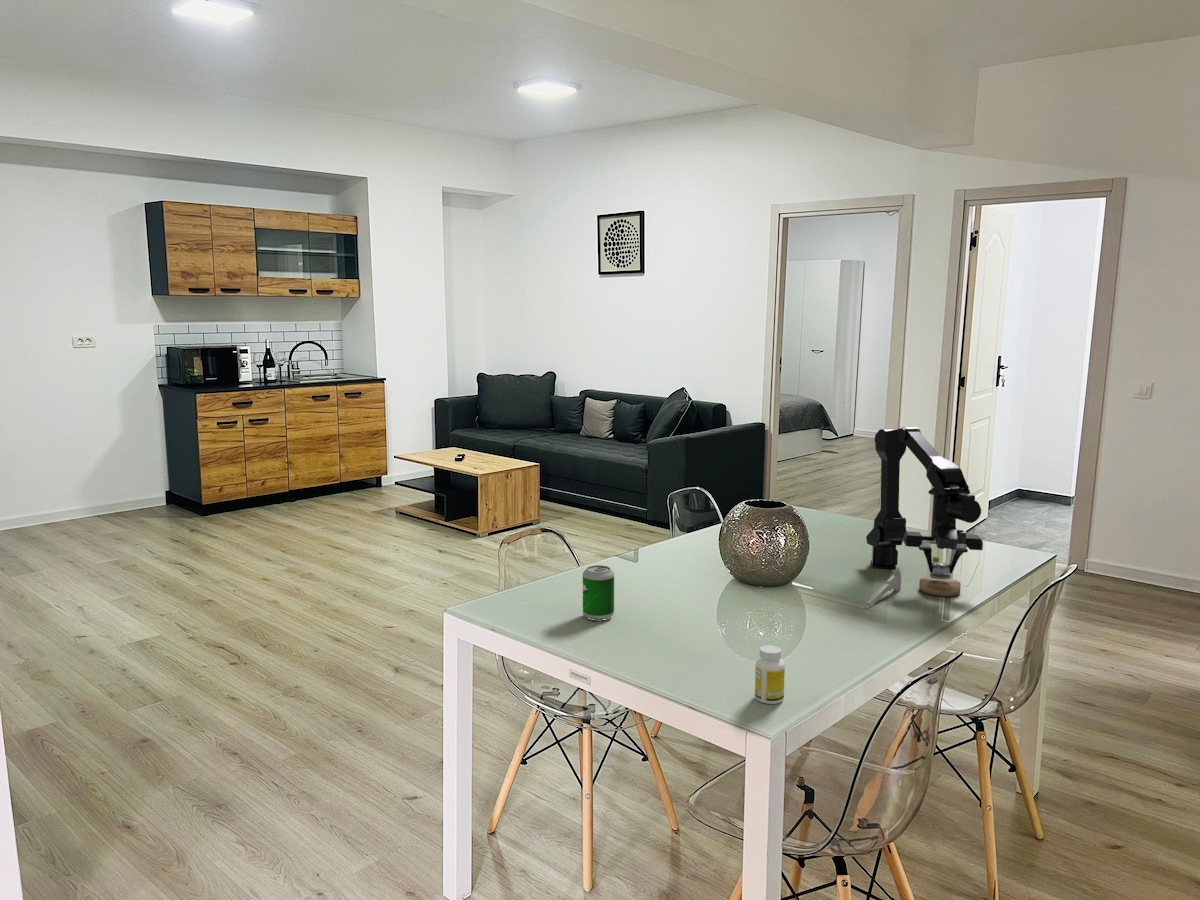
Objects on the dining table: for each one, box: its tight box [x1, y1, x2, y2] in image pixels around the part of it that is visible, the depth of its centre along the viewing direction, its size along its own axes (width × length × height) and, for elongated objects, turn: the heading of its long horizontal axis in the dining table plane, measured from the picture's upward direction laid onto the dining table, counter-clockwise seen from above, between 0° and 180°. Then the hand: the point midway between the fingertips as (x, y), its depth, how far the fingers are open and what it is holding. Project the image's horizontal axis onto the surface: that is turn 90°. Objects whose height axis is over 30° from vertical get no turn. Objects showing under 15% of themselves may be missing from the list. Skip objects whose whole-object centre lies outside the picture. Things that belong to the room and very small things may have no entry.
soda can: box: [582, 564, 615, 620], centre depth 213 cm, size 8×8×12 cm
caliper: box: [863, 567, 902, 609], centre depth 227 cm, size 20×1×6 cm, turn 140°
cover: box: [929, 561, 952, 579], centre depth 232 cm, size 5×5×3 cm
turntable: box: [919, 555, 962, 597], centre depth 235 cm, size 14×10×7 cm
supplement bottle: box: [754, 645, 786, 705], centre depth 168 cm, size 5×5×10 cm
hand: (940, 572), depth 233 cm, fingers closed on cover, 4 cm apart
